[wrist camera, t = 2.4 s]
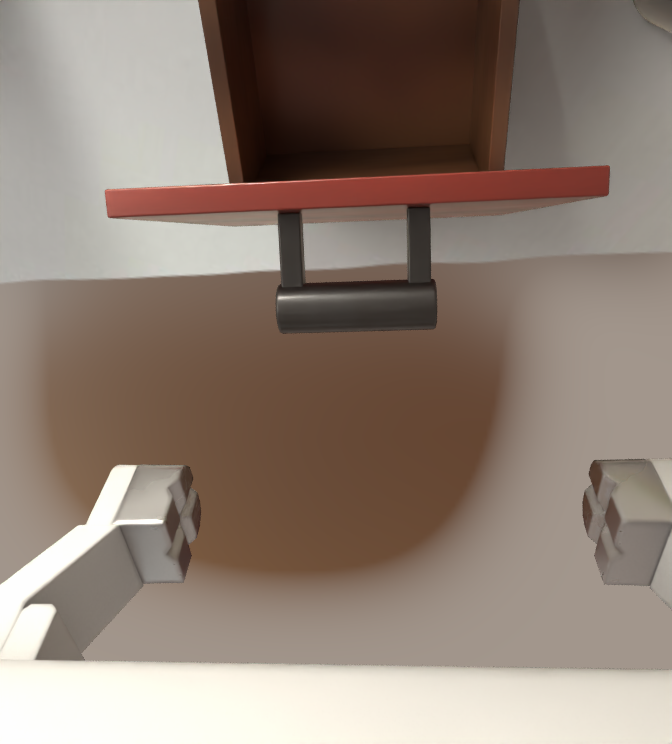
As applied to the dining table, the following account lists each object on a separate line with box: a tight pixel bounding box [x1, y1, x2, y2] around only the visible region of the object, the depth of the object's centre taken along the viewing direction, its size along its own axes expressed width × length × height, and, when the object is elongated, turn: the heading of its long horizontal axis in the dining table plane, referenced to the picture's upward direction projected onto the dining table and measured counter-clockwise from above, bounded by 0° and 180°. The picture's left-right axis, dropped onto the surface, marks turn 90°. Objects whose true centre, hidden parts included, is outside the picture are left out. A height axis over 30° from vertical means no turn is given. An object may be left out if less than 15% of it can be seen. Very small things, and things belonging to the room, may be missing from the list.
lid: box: [105, 165, 610, 334], centre depth 26 cm, size 16×14×5 cm
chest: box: [198, 0, 520, 184], centre depth 32 cm, size 15×14×8 cm
